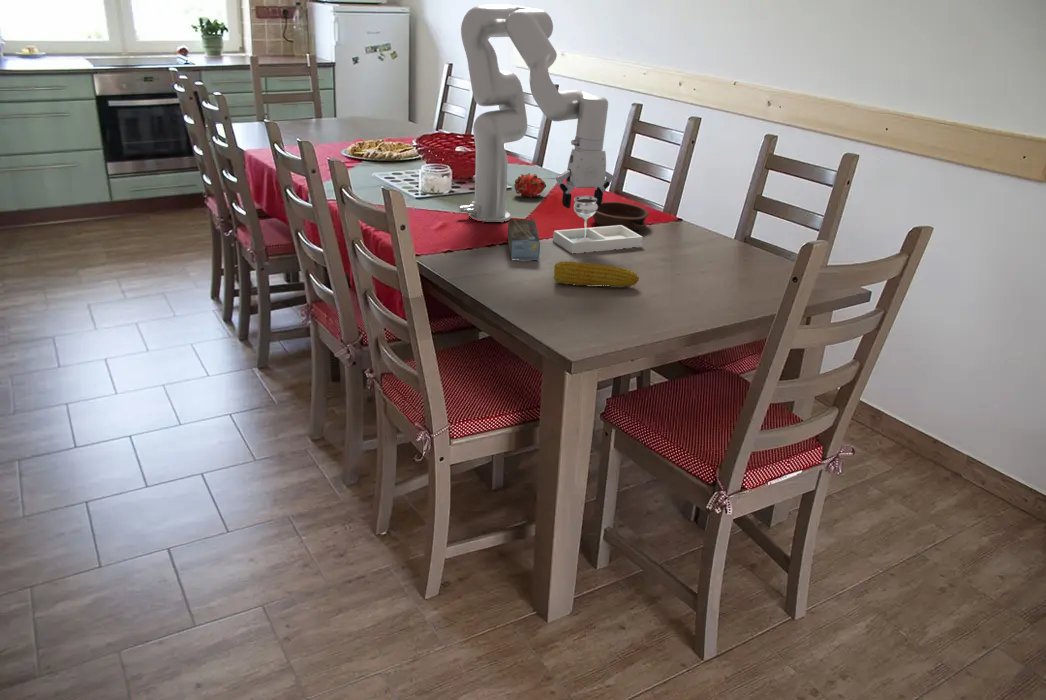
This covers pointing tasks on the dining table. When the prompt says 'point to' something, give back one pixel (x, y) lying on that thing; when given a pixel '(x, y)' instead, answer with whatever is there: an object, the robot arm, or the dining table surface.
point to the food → (593, 274)
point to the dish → (621, 215)
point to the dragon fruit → (529, 185)
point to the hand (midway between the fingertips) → (581, 205)
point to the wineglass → (585, 211)
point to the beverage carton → (523, 239)
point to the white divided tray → (597, 239)
